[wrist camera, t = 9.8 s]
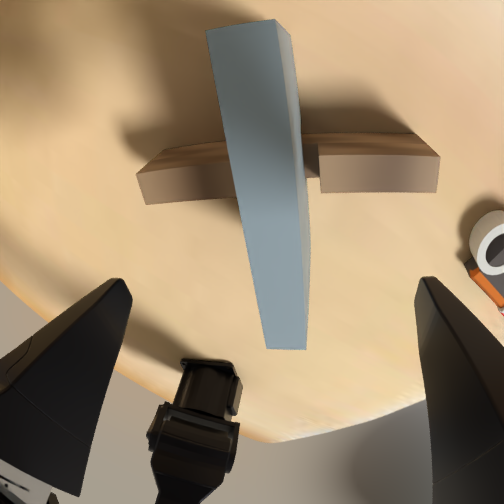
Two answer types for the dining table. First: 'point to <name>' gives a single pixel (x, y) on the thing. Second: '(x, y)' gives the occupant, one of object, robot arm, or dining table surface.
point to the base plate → (315, 165)
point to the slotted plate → (267, 169)
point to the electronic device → (488, 256)
